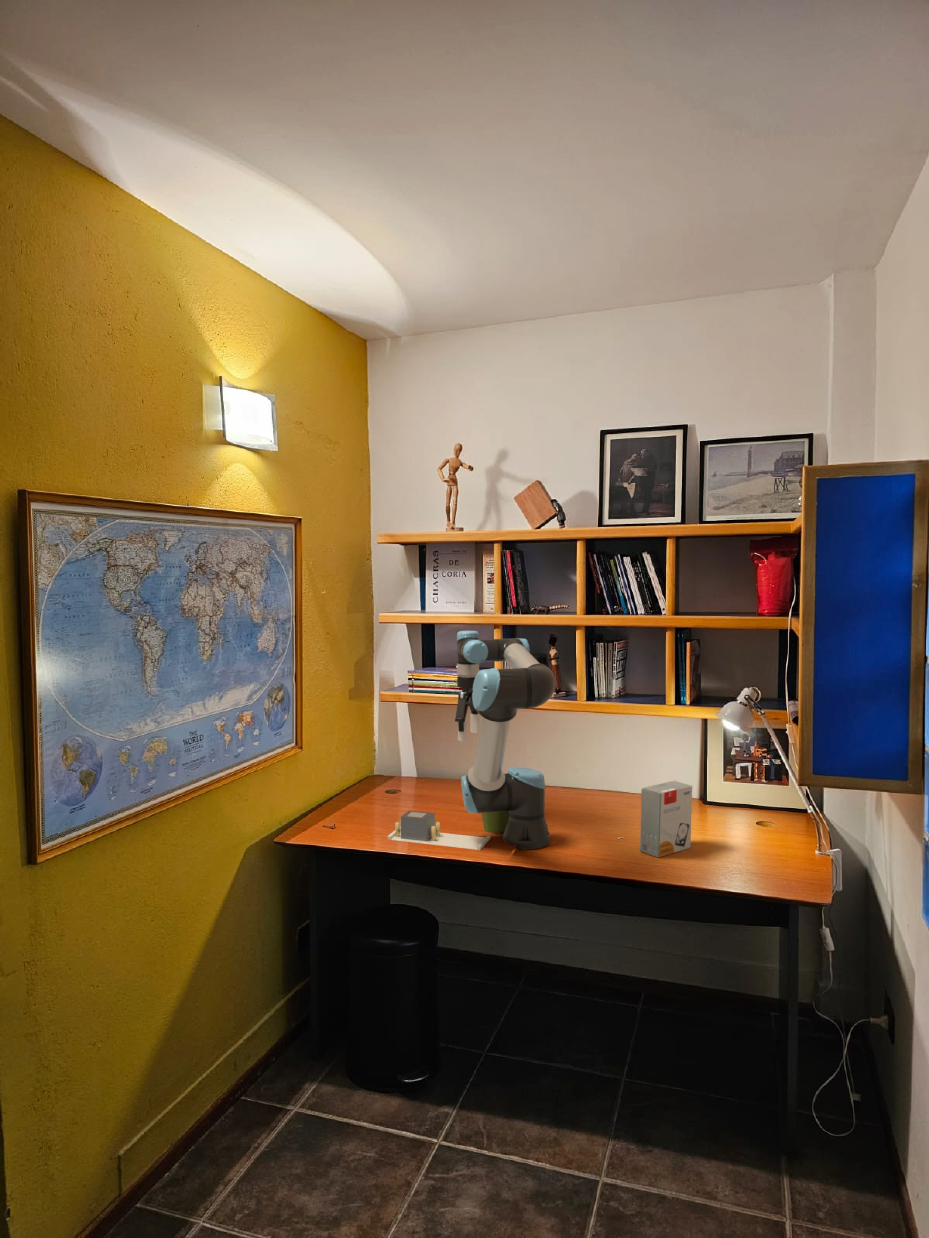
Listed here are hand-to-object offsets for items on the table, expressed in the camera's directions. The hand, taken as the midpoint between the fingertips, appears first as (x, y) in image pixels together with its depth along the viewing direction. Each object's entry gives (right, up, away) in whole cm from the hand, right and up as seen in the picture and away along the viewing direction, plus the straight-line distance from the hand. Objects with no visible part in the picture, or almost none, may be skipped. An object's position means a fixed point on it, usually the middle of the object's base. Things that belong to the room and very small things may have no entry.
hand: (468, 736), depth 277 cm
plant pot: (+9, -30, -13) cm, 34 cm away
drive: (-16, -29, -19) cm, 39 cm away
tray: (-9, -30, -22) cm, 38 cm away
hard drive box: (+61, -31, -29) cm, 74 cm away
